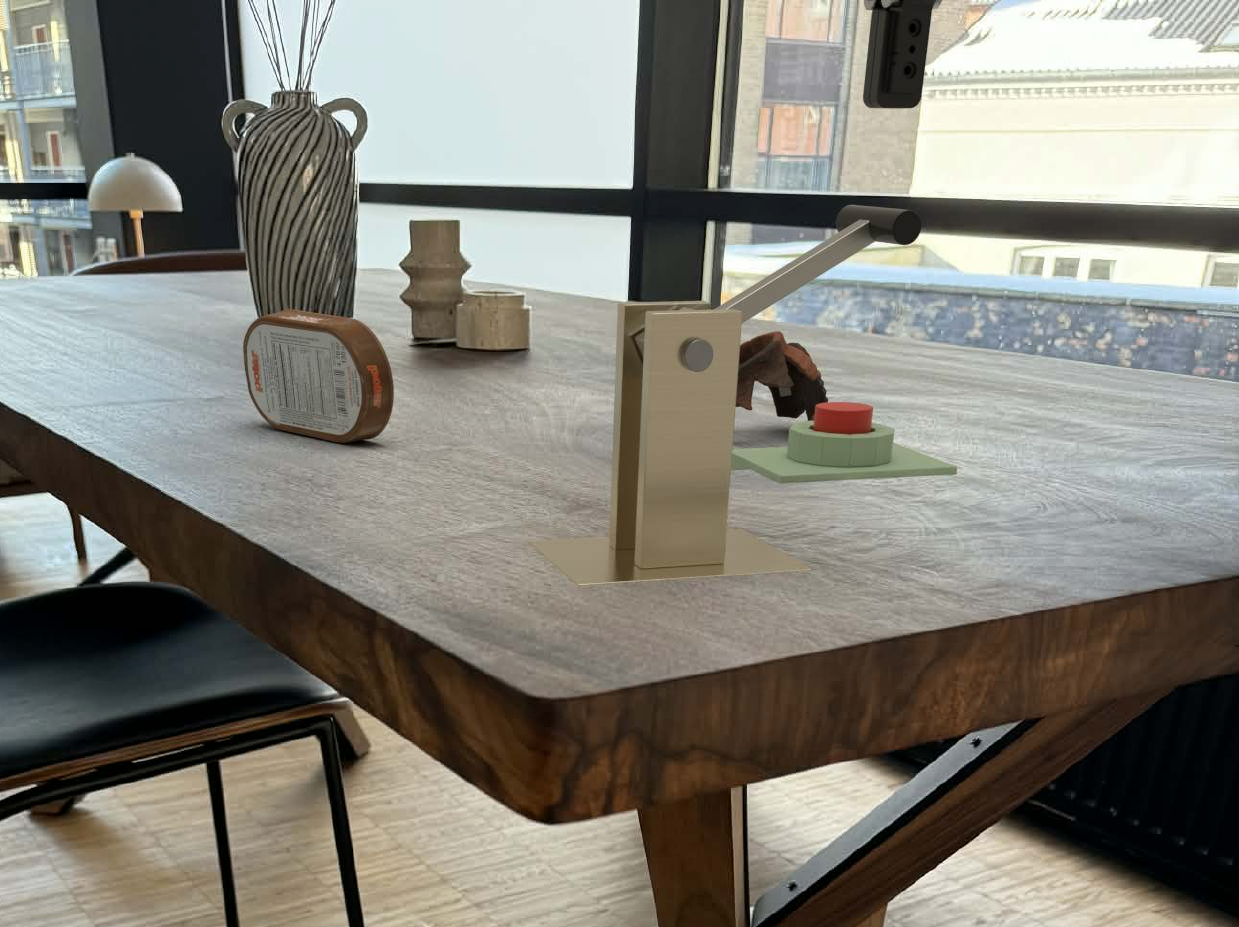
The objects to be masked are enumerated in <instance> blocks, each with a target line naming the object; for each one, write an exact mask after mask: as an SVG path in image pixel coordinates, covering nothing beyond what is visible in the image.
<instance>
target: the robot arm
mask: <svg viewBox="0 0 1239 927" xmlns="http://www.w3.org/2000/svg"><path fill="white" fill-rule="evenodd" d="M942 2H943V0H863V5H864V9H865V10H866V11H871V15H870V16H871V17H870V25H869V35H868V44H867V53H866V54H867V55H866V64H865V73H864V81H863V82H864V83H863V90H862V92H863V93H862V102H863V104H864V105H865V107H867V108H869V109H889V110H890V109H892V110H893V109H896V110H897V109H899V110H901V109H914V108H916V107H917V106H918V105H919V104H920V102H921V100H922V96H923V89H924V81H925V80H924V79H925V72H926V64H927V55H928V49H929V48H928V47H929V40H930V30H931V24H932V15H933V10H936V9H938V8H940V6H941V4H942Z"/></svg>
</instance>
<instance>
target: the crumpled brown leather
mask: <svg viewBox="0 0 1239 927" xmlns="http://www.w3.org/2000/svg"><path fill="white" fill-rule="evenodd" d="M755 382H758V383H760V385H762V386H764V387H767V388H768V389H769V391H770V393H771V398H772V402H773V404H774V407H775V408H774V409H775V414H776V417H778V418H791V419H795V420H796V419H798V418H800V416H802V415H803V414H804V413H805V416H806V418H807V421H814V416H815V406H816V405H817V404H820V403H826V402H829V398H828V397H827V392H828V391H827V389H826V388H825V382H824V380H823V379H822V374H821V371H820V370H818V366H817V364H816V363H815V362H813V359H812V357H811V355H810V353H809V352H808V351H807V349H806V347H804V346H802V345H801V344H800V343H799V342H788V343H787V341H786V339H785V336H784V334H783V332H781V331H780V330H779V331H778V330H777V331H776V330H775V331H771V332H767V333H764V334H760V335H756V336H755V337H752V338H751V339H750V340H747V341H744V342H742V343H740V354H739V367H738V381H737V395H736V408H742V409H744V410H746V411H751V412H752V410H753V406H752V402H753V401H752V400H753V394H754V388H755V387H754V386H755Z"/></svg>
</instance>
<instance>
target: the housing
mask: <svg viewBox="0 0 1239 927" xmlns="http://www.w3.org/2000/svg"><path fill="white" fill-rule="evenodd" d="M813 426H814V421H808V420H805V421H799V422H795V423H792V424H791V425H790V427H789V429H788V439H787V446H772V447H770V446H769V447H748V448H747V447H746V448H733V449H732V463H731V471H748V470H749V471H750V470H752V471H754V472H756V473H758V474H760V475H763V476H764V477H766V478H769V479H770V480H773V482H776V483H779V484H792V483H811V482H813V483H815V482H830V481H831V482H832V481H852V480H869V479H887V478H888V479H889V478H909V477H911V478H912V477H927V476H947V475H949V476H950V475H957V472H958V466H956V465H954V464H952V463H949V462H946V461H943V460H941V459H937V458H935V457H932V456H930V455H927V454H924V453H922V452H919V451H917V450H913V449H911V448H908V447H905V446H903V445H900V444H897V443H895V442H894V440H895V439H894V438H895V428H893V427H890V426H887V425H885V424H882V423H876V422H872V424H871V432H870V433H866V434H832V433H824V432H817V431H814V430H813Z"/></svg>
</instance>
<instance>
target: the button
mask: <svg viewBox="0 0 1239 927" xmlns="http://www.w3.org/2000/svg"><path fill="white" fill-rule="evenodd" d="M873 414H874V407H873V406H872V405H870V404H867V403H862V402H861V403H860V402H852V401H828V402H826V403H820V404H817V405H816V406H815V416H814V426H813V430H814V431H817V432H824V433H832V434H866V433H870V432H871V424H872V423H873Z"/></svg>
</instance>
